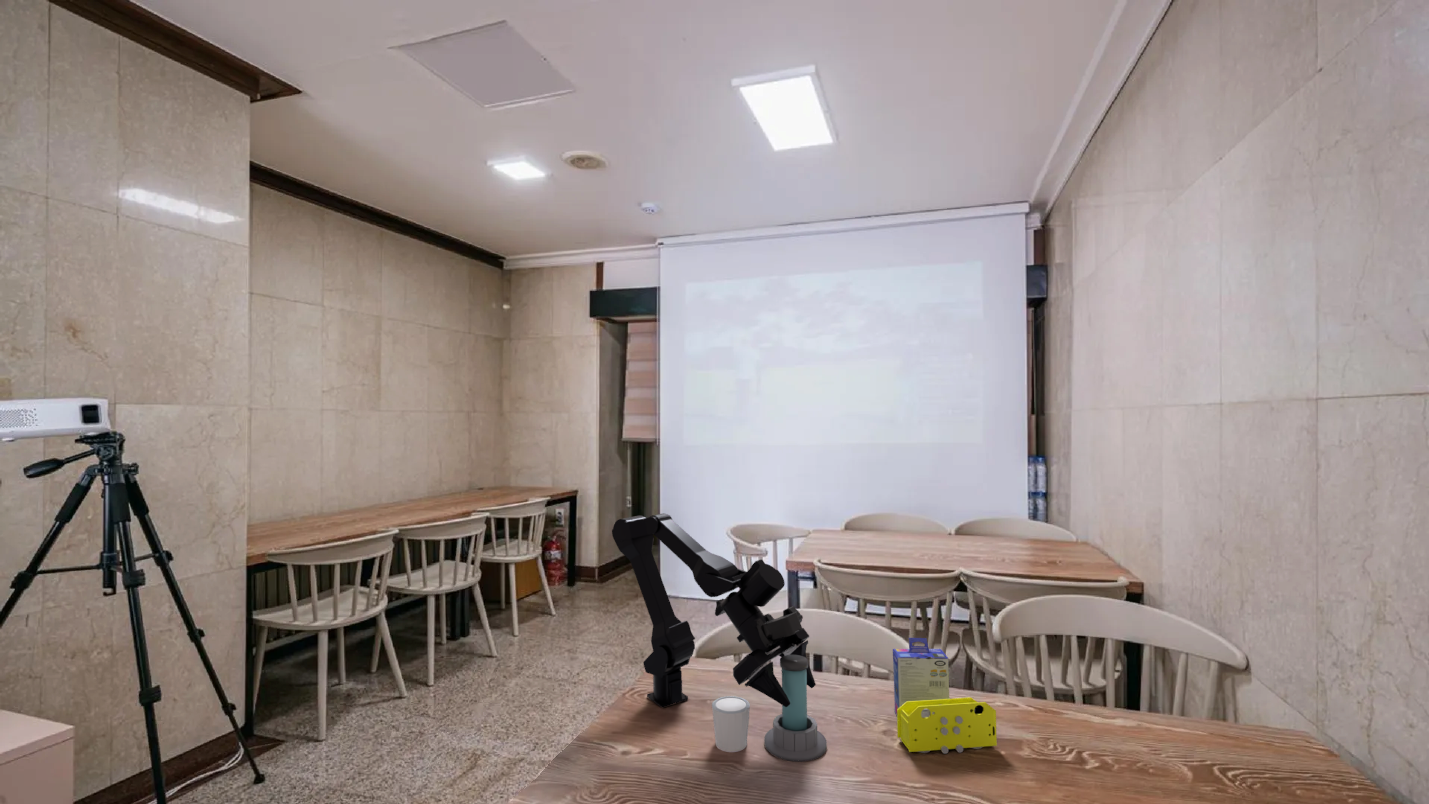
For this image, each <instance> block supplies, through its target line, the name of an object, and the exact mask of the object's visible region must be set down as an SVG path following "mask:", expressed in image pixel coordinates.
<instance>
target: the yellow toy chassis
mask: <svg viewBox="0 0 1429 804" xmlns="http://www.w3.org/2000/svg"><path fill="white" fill-rule="evenodd" d="M896 721H897V723H896V725H897V726H896V727H897V729H896V730H897V732H896V733H897V739H900V740H901V742H902V743H903V744H904V746H905V747H906V748H907V749H908V752H909V753H912V752H913V753H914V752H917V753H922V754H926V753H930V751H941V752H942V754H948V753H949V750H954V749H955V750H956V751H957V752H958V753H959V754H960V753H963V751H964V749H967V748H970V749H975V750H981V749H982V748H984V747H997V746H998V741H997V736H998V735H997V710H996V709H995V708H993V707H992V706H991V705H989V704H988V703H987V702H986V701H981V702H980V701H979V702H978V701H977V700H975V699H974V698H972V697H971V696H970V697H957V698H949V699H937V700H922V701H907V702H905V703H904V704H903V705H902V706H901V707H899V708H898V709H897V715H896Z"/></svg>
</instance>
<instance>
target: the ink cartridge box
mask: <svg viewBox="0 0 1429 804" xmlns="http://www.w3.org/2000/svg"><path fill="white" fill-rule="evenodd" d="M918 642H919V643H923V644H924V645H922V646H921V645H913V643H918ZM892 660H893V661H892V663H893V664H892V665H893V690H894V691H893V693H894V694H893V695H894V699H893V700H894V709H893V710H894V713H895V715H896V716H897V709H898V708H899V707H901V706H902V705H903V704H904V703H905V702H907V701H922V700H937V699H950V680H949V677H950V675H949V674H950V672H949V671H950V670H949V665H950V664H949V657H948V656H947V655H946V654H945V652H944V651H943V650H942V649H941V648H929V644H928V638H926V637H924V638H923V637H908V648H892Z"/></svg>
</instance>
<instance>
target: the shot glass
mask: <svg viewBox="0 0 1429 804" xmlns="http://www.w3.org/2000/svg"><path fill="white" fill-rule="evenodd" d="M750 708H751V706H750V702H749V701H748V700H747V699H745V698H743V697H741V696H735V695H734V696H733V695H732V696H731V695H726V696H721V697H718V698H716V699H714V701H712V703H711V710H712V719H713V721H712V722H713V728H714V729H713V730H714V739H715V740H714V741H715V746H716V747H717V749H718V750H720V751H723V752H727V753H736V752H741V751H742V750H744V749H745V748H746V747H747V746H748V733H749V720H750Z"/></svg>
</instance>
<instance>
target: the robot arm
mask: <svg viewBox="0 0 1429 804" xmlns="http://www.w3.org/2000/svg"><path fill="white" fill-rule="evenodd" d="M611 534H612V538H613V541H614V544H616V546H617V549H618V551H619V552H621V553H622V555H624V556H625V557H626V558H627V559H628V560H629V561H630V563H631V566H632V569H633V572H634V575H635V578H636V580H637V584H638V586H639V589H640V591H641V595H642V598H643V601H644V604H645V606H646V610H647V612H648V615H649V617H650V620H651V623H652V630H651V636H650V637H651V639H650V643H651V647H652V652H651V653H650V654H649V656H647V657H646V659H645V660H644V661H643V667H644V671H645V673H647V674H649V675H652V679H653V680H652V681H653V683H652V684H653V685H652V687H653V689H652V692H649V693H647V694H646V697H647V698H648V699H649V700H651V701H652V702H653V703H654V704H656V705H657V706H658V707H659V708H666V707H671V706H672V705H676V704H677V703H681V702H685V701H688V700H689V696H688V695H686V694H685V693H683V680H682V679H683V677H682V675H683V674H682V672H683V671H682V668H683V667H684V666H687V665H690V664H689V663H690V659H691V658H692V657H693V654H694V652H695V651H694V650H696V646H695V645H696V644H695V641H694V640H696V637H695V636H694V634H693V633H692V630H691V627H690V622H688V620H684V621H681V620H680V619H679V618H678V617H677V616H676V615H675V612H674V609H673V605H672V603H671V601H670V598H669V596H668V592H667V590H666V588H665V587H666V586H665V585H664V581H663V579H662V577H661V573H660V570H659V568H658V565H657V562H656V560H655V557H654V555H653V547H654V536H655V537H656V538H657V539H658V540H659V541H660V542H661V543H662V544H663V545H664V546H665V547H667V549H669V551H671V553H673V554H674V555H675V556H676V557H677V558H678V559H680V560H681V561H682V562H683V564H684V565H686V567H688V568H689V570H690V572H691V571H692V575H693V576H692V577H693V579H694V581H695V583H696V585H698V587H699V588H700V589H701V590H702V592H703V593H704V594H705V595H706V596H708V597H710V598H717V597H720V596H723V595H724V594H727V593H729V592H730V593H729V594H728V595H727V596H726V597H725V598H721V599H719V600H716V607H715V610H714V615H715V617H718V616H721V615H723V614H725V615H726V616H727V618H728V619H729V620H730V622H731V623H732V625H733V627H734V628H735V629H736V631H737V632H738V633H739V635H738V636H737V637H736V639H737V640H738V643H741V642H745V644H746V645H747V647H748V648H749V650H750V651H751V652H750V653H748V654H746V655H745V656H744V657H743V658H742V659H741V660H740V661H739V662H738V663H737V664H736V665H735V666H734V667H733V668H732V677H733V678H734V679H735V681H736V683H737V685H738V686H740V685H742V684H743V683H744V686H745V687H750V688H751V689H754V690H756V691H758V692H760V693H762V694H763V695H765V696H767V697H768V698H770V699H772V700H774V701H775V702H776V703H778V704H780V705H781V706H782V705H783V706H785V707H788V706H789V705H790V701H789V699H788V697H787V695H786V693H785V692H784V690H783V689H782V684H781V683H780V682H779V680H778V679H777V677H776V676H775V674H774V672H775V671H774V662H773V661H772V660H774V659H776V658H777V657H778V656H779V657H780V658H781V657H783V656H785V655H800V656H803V657H805V658H807V659H808V657H807V655H806V654H807V645H808V644H809V640H808V639H809V638H810V634H809V633H808V631H806V629H805V628H804V627H803V626H802V624H801V623H802V622H803V618H804V617H803V615H802V614H801V613H800V612H799V610H798V609H797V608H796V607H795V606H790V607H788V608H786V609H784V610H783V611H782V616H780V617H777V618H774V617H773V616H772V615H771V614H770V613H767V614H764V612H762V611H761V609H760V608H763V607H765V606H766V605H767V604H768V603H769V602H771V600H772V599H773V598H774V597H776V595H778V594H779V592H780V591H781V590H782V589H783V588H784V587H785V583H786V581H785V579H784V577H783V575H782V574H781V572H780V571H779V569H776V567H774V566H773V565H770V564H768V563H765V561H764V560H763V559H759V560H755V561H754V562H753V563H752V564H751V566H750V567H749V569H748V570H747V571H746V570H743V569H740V568H739V567H737V566H736V564H734V563H733V562H731V561H729V560H727V559H726V558H724V557H723V556H721V555H718V554H715V553H712V552H710V551H708V550H707V549H706V548H704V547H703V546H702V545H701V544H700V543H699V542H698V541H696V539H694V538H693V537H692V536H691V535H690V534H689V533H687V532H686V531H685V529H683V528H682V527H681V526H679V524H677V522H676V521H674V520H673V518H672V515H670V514H668V513H657V514H653V515H650V516H649V517H645V516H643V515H634V516H629V517H624V518H619V519H617V520H616V521H615V523H614V525H613V527H612V529H611ZM738 588H739V589H738ZM736 589H738V590H737V591H734V590H736ZM770 661H771V662H770ZM768 662H769V663H768ZM806 673H807V686H808V687H809V688H810V689H813V688H815V686H816V682H815V681H816V680H815V678H814V675H813V673H812V670H811V667H810V664H809V663H808V668H807V669H806ZM745 682H746V683H745Z"/></svg>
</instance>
